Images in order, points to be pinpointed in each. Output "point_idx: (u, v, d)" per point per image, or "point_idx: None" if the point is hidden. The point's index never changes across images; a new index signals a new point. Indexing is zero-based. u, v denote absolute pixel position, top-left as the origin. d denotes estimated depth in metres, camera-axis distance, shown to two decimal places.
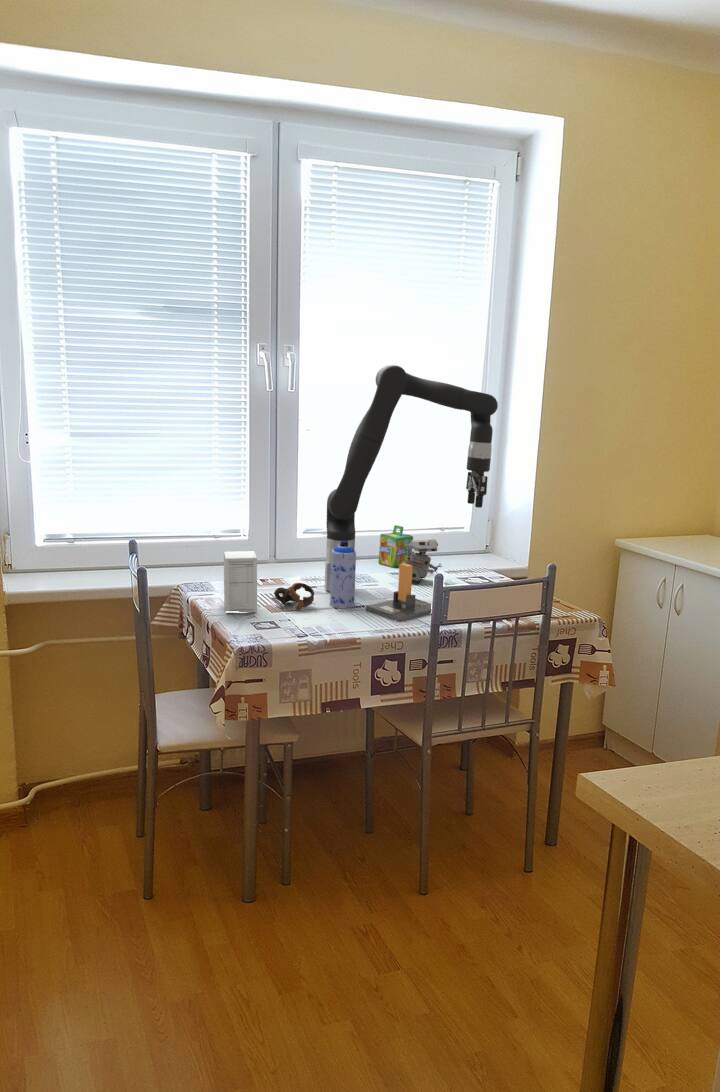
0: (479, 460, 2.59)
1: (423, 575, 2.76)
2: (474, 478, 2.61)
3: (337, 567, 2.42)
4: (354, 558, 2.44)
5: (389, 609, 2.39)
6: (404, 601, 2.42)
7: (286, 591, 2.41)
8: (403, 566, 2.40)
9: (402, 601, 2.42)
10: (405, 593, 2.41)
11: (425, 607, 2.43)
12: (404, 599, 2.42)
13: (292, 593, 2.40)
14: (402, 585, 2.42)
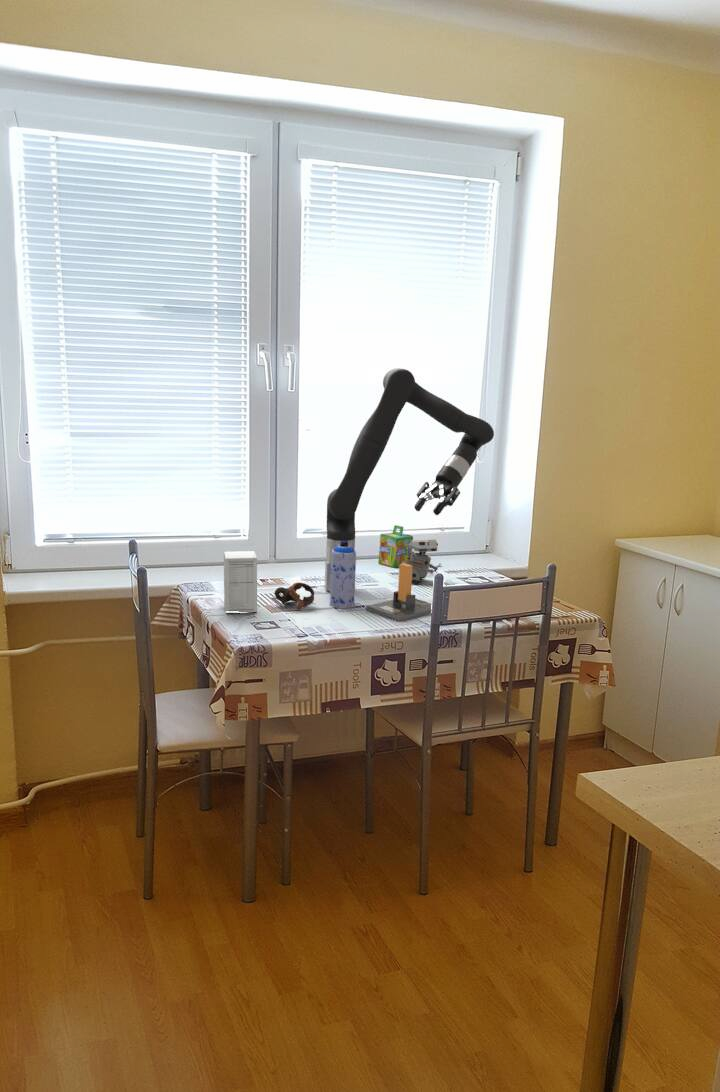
0: (458, 474, 2.52)
1: (423, 575, 2.76)
2: (443, 487, 2.51)
3: (337, 567, 2.42)
4: (354, 558, 2.44)
5: (389, 609, 2.39)
6: (404, 601, 2.42)
7: (286, 591, 2.42)
8: (403, 566, 2.40)
9: (402, 601, 2.42)
10: (405, 593, 2.41)
11: (425, 607, 2.43)
12: (404, 599, 2.42)
13: (292, 593, 2.40)
14: (402, 585, 2.42)
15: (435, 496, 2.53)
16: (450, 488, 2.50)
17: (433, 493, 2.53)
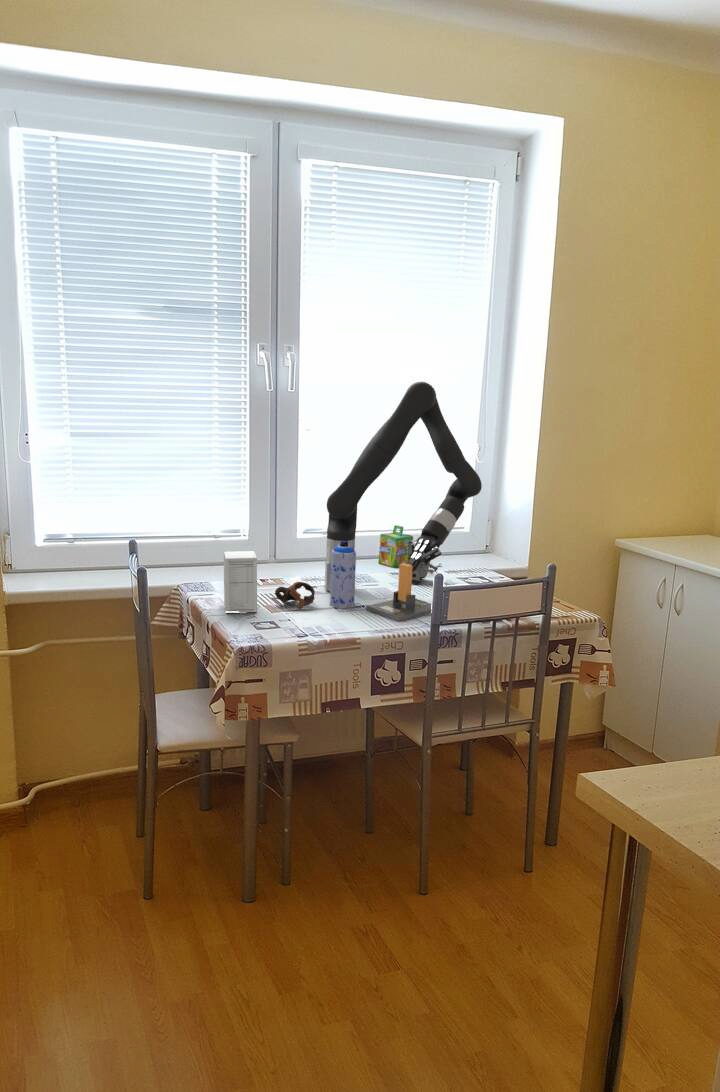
0: (444, 529, 2.44)
1: (423, 575, 2.76)
2: (428, 543, 2.43)
3: (337, 567, 2.42)
4: (354, 558, 2.44)
5: (389, 609, 2.39)
6: (404, 601, 2.42)
7: (287, 590, 2.43)
8: (403, 566, 2.40)
9: (402, 601, 2.42)
10: (405, 593, 2.41)
11: (425, 607, 2.43)
12: (404, 599, 2.42)
13: (293, 592, 2.41)
14: (402, 585, 2.42)
15: None
16: (436, 544, 2.42)
17: None
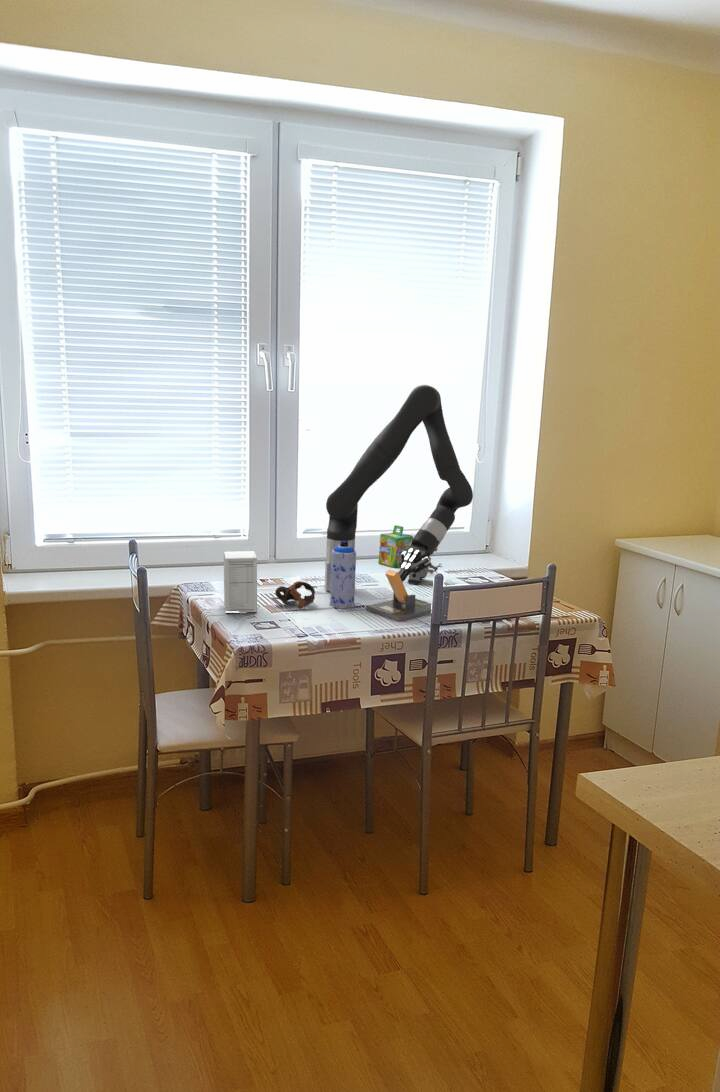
0: (434, 539, 2.42)
1: (423, 575, 2.76)
2: (418, 553, 2.41)
3: (337, 567, 2.42)
4: (354, 558, 2.44)
5: (389, 609, 2.39)
6: (404, 603, 2.42)
7: (287, 590, 2.43)
8: (389, 575, 2.37)
9: (402, 603, 2.43)
10: (402, 597, 2.40)
11: (425, 607, 2.43)
12: (403, 601, 2.42)
13: (293, 592, 2.42)
14: (395, 590, 2.40)
15: None
16: (426, 554, 2.40)
17: None
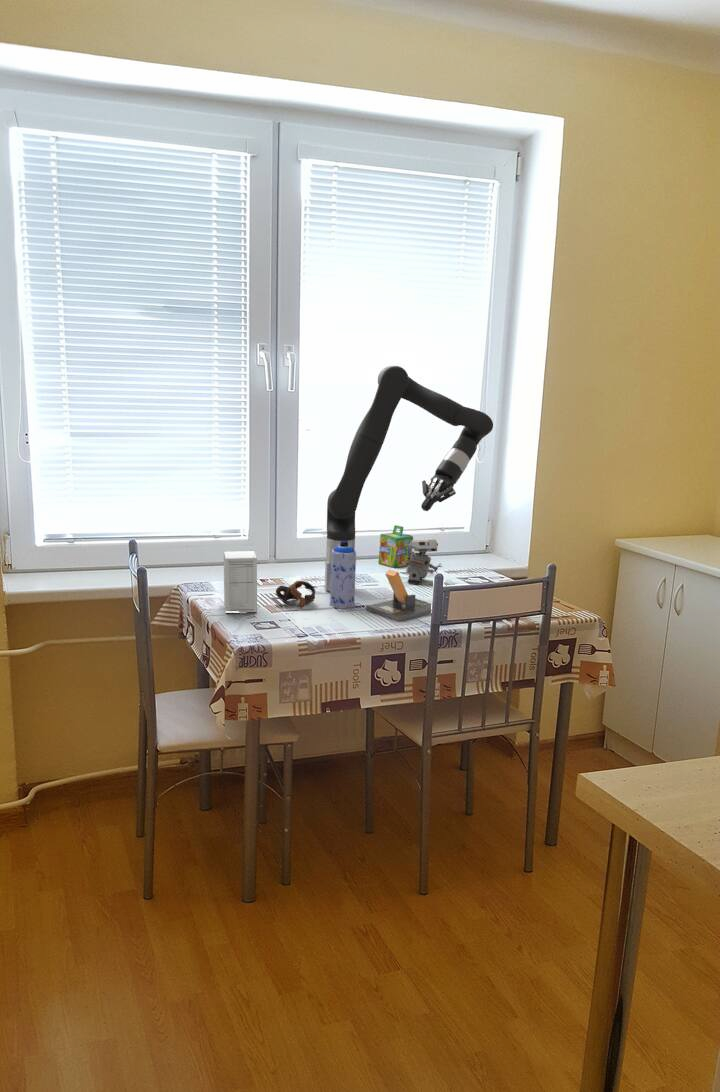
0: (458, 469, 2.50)
1: (423, 575, 2.76)
2: (442, 483, 2.49)
3: (337, 567, 2.42)
4: (354, 558, 2.44)
5: (389, 609, 2.39)
6: (404, 603, 2.42)
7: (288, 589, 2.44)
8: (389, 575, 2.37)
9: (402, 603, 2.43)
10: (402, 597, 2.40)
11: (425, 607, 2.43)
12: (403, 601, 2.42)
13: (294, 591, 2.42)
14: (395, 590, 2.40)
15: None
16: (451, 483, 2.48)
17: None
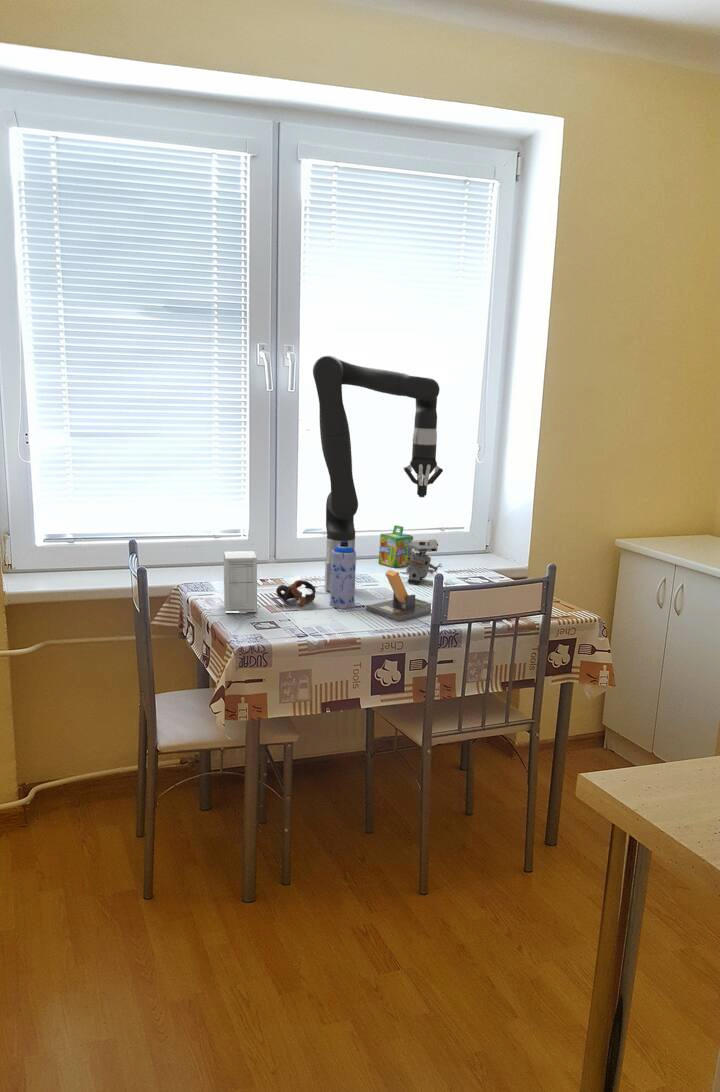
0: None
1: (423, 575, 2.76)
2: None
3: (337, 567, 2.42)
4: (354, 558, 2.44)
5: (389, 609, 2.39)
6: (404, 603, 2.42)
7: (288, 588, 2.44)
8: (389, 575, 2.37)
9: (402, 603, 2.43)
10: (402, 597, 2.40)
11: (425, 607, 2.43)
12: (403, 601, 2.42)
13: (294, 590, 2.43)
14: (395, 590, 2.40)
15: None
16: (436, 464, 2.55)
17: None
